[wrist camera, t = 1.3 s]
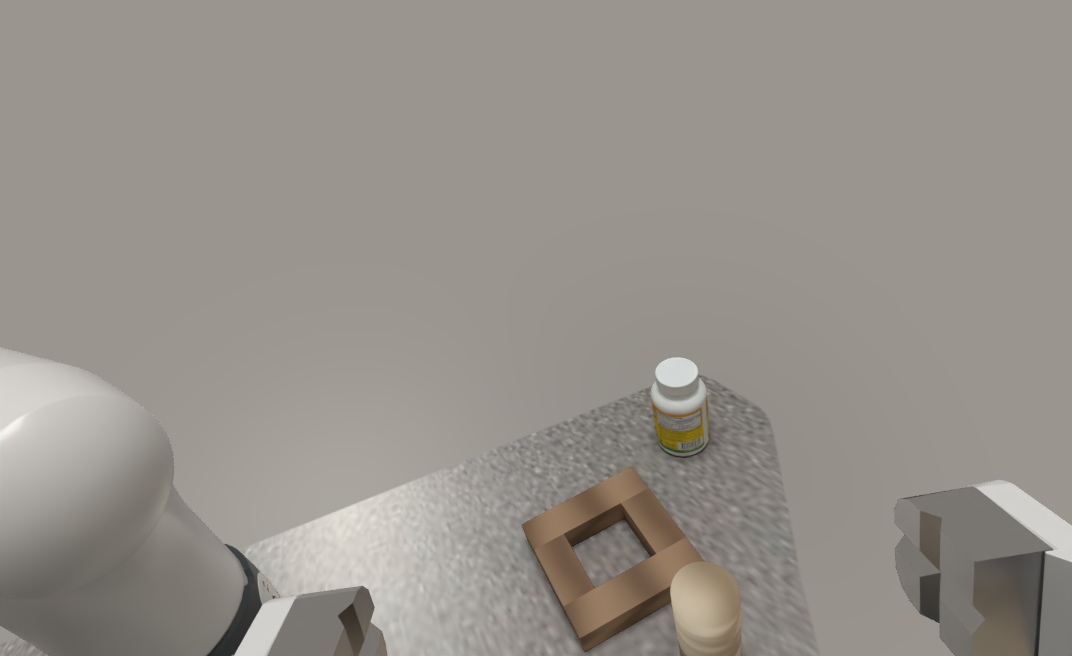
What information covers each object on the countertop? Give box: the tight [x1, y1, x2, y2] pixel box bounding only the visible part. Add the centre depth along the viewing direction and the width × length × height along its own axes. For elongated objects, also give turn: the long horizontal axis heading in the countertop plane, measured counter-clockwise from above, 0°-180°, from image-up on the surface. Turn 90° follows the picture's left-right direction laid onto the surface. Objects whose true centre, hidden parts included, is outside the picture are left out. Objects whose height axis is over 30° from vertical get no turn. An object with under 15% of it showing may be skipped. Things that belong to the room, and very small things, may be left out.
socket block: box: [522, 466, 705, 652], centre depth 57 cm, size 12×12×2 cm
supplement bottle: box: [651, 357, 709, 456], centre depth 63 cm, size 5×5×10 cm
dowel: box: [670, 562, 742, 656], centre depth 45 cm, size 4×4×12 cm
